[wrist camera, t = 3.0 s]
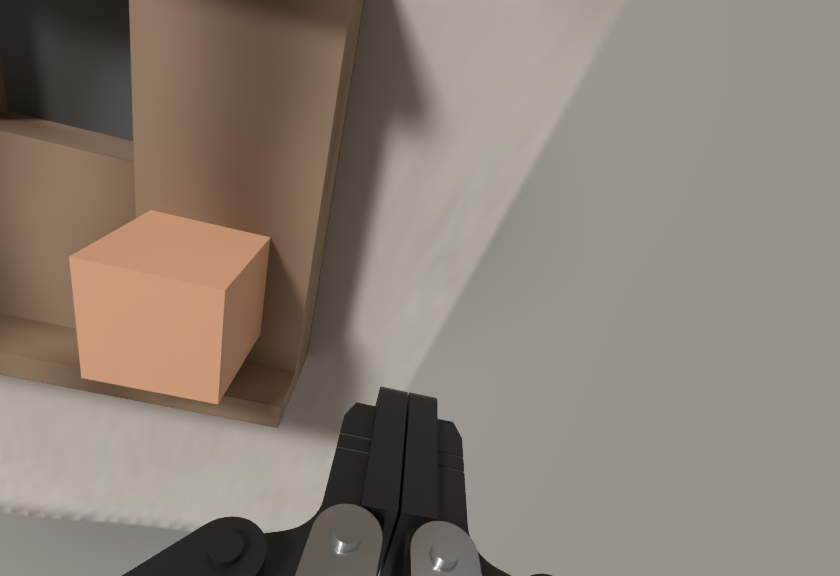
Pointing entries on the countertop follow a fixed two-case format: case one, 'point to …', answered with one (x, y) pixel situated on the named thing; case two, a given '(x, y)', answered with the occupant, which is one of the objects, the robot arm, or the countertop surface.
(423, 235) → the countertop surface
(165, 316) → the terracotta block
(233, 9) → the box
